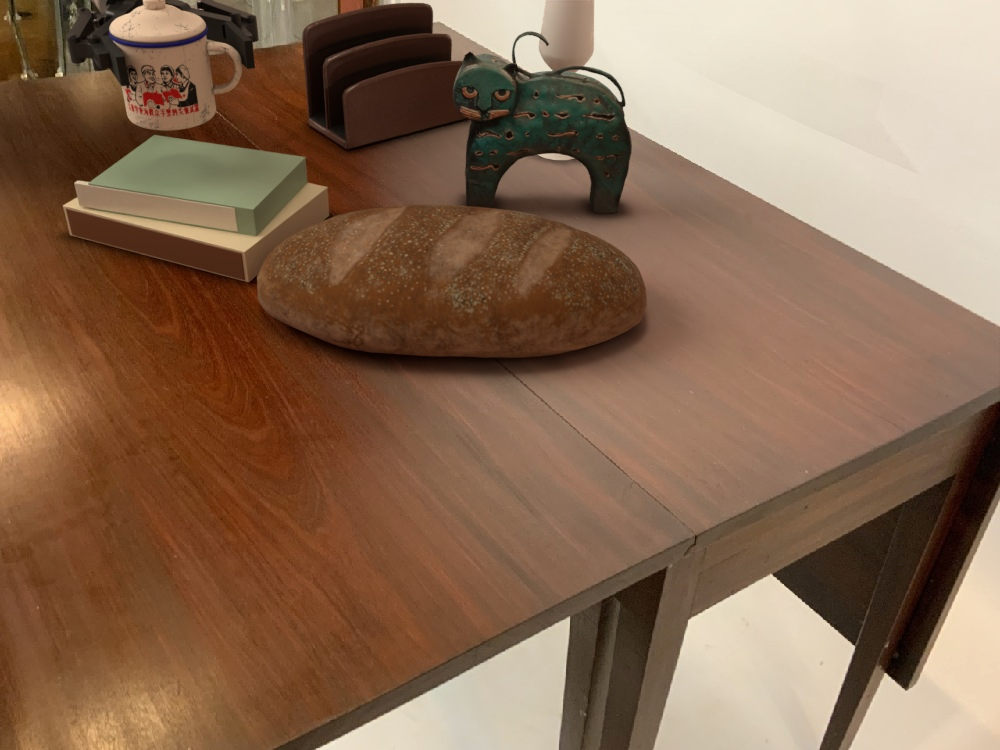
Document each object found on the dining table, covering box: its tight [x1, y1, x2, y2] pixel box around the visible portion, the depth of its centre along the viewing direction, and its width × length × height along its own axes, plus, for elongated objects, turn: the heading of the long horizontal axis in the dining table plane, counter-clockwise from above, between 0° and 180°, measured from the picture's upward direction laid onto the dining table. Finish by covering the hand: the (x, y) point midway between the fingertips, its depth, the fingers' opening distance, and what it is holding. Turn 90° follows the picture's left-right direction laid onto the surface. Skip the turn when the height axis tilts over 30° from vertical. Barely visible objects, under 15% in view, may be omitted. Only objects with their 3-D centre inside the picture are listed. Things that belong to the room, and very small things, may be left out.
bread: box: [256, 203, 648, 358], centre depth 92 cm, size 22×37×8 cm, turn 90°
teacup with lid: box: [109, 0, 243, 132], centre depth 95 cm, size 12×9×12 cm
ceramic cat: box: [453, 30, 633, 215], centre depth 107 cm, size 20×6×20 cm, turn 91°
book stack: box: [62, 134, 330, 283], centre depth 104 cm, size 22×16×6 cm
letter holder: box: [301, 2, 468, 151], centre depth 126 cm, size 10×20×14 cm, turn 129°
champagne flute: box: [537, 0, 595, 161], centre depth 119 cm, size 7×7×24 cm
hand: (188, 62), depth 92 cm, fingers closed on teacup with lid, 11 cm apart
